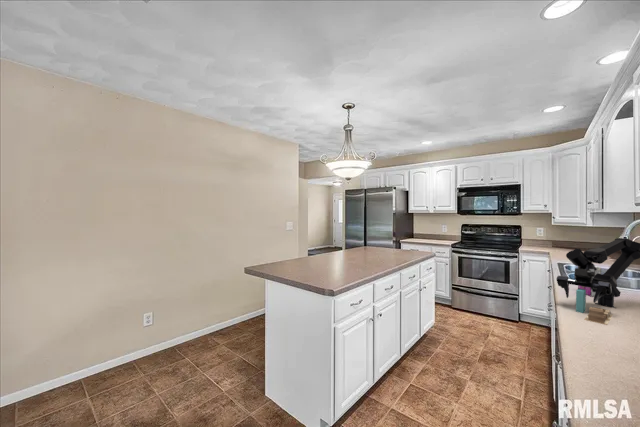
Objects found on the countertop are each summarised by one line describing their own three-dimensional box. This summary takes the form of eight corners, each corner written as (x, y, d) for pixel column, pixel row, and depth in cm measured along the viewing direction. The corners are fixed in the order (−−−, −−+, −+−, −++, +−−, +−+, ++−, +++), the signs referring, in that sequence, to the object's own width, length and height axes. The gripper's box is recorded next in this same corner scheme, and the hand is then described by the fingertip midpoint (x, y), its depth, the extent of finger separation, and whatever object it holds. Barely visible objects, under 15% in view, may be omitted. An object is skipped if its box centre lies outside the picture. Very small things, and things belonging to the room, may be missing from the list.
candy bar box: (577, 291, 168) (577, 263, 168) (587, 291, 167) (587, 263, 167) (590, 296, 157) (591, 267, 157) (601, 297, 156) (601, 267, 156)
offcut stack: (589, 316, 125) (589, 306, 125) (605, 320, 121) (605, 310, 121) (587, 319, 122) (587, 309, 121) (603, 323, 118) (604, 312, 118)
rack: (591, 312, 133) (591, 305, 133) (612, 317, 127) (612, 309, 127) (583, 322, 121) (584, 313, 121) (607, 327, 116) (607, 318, 116)
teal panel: (578, 311, 135) (578, 288, 134) (585, 313, 133) (585, 289, 132) (575, 314, 131) (576, 290, 131) (583, 315, 129) (583, 291, 129)
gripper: (557, 259, 141) (551, 285, 135) (611, 264, 127) (607, 294, 120) (561, 272, 146) (555, 298, 140) (613, 279, 132) (609, 308, 125)
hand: (580, 299), depth 131 cm, fingers open, 9 cm apart
